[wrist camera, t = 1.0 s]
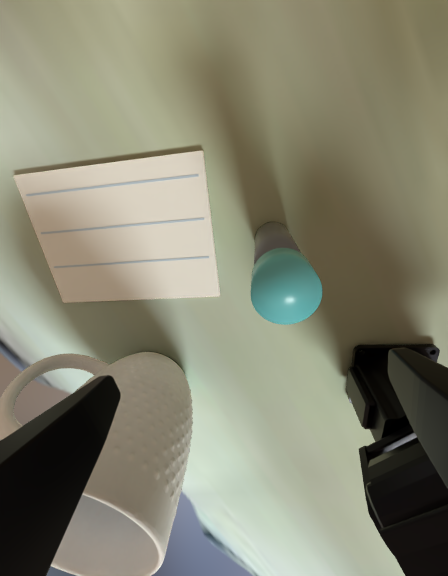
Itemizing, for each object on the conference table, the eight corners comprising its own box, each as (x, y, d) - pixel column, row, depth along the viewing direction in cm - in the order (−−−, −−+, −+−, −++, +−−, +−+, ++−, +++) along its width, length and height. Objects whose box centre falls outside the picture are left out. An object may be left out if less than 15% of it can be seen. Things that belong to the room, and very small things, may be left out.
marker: (291, 218, 18) (324, 258, 9) (290, 255, 19) (320, 323, 10) (252, 222, 19) (248, 263, 10) (254, 257, 20) (252, 325, 11)
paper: (203, 150, 17) (202, 150, 17) (220, 294, 22) (220, 296, 21) (16, 175, 19) (12, 175, 19) (65, 301, 24) (63, 302, 23)
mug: (58, 362, 27) (-95, 504, 15) (95, 289, 23) (-80, 409, 11) (174, 428, 29) (117, 598, 17) (227, 372, 25) (201, 549, 13)
